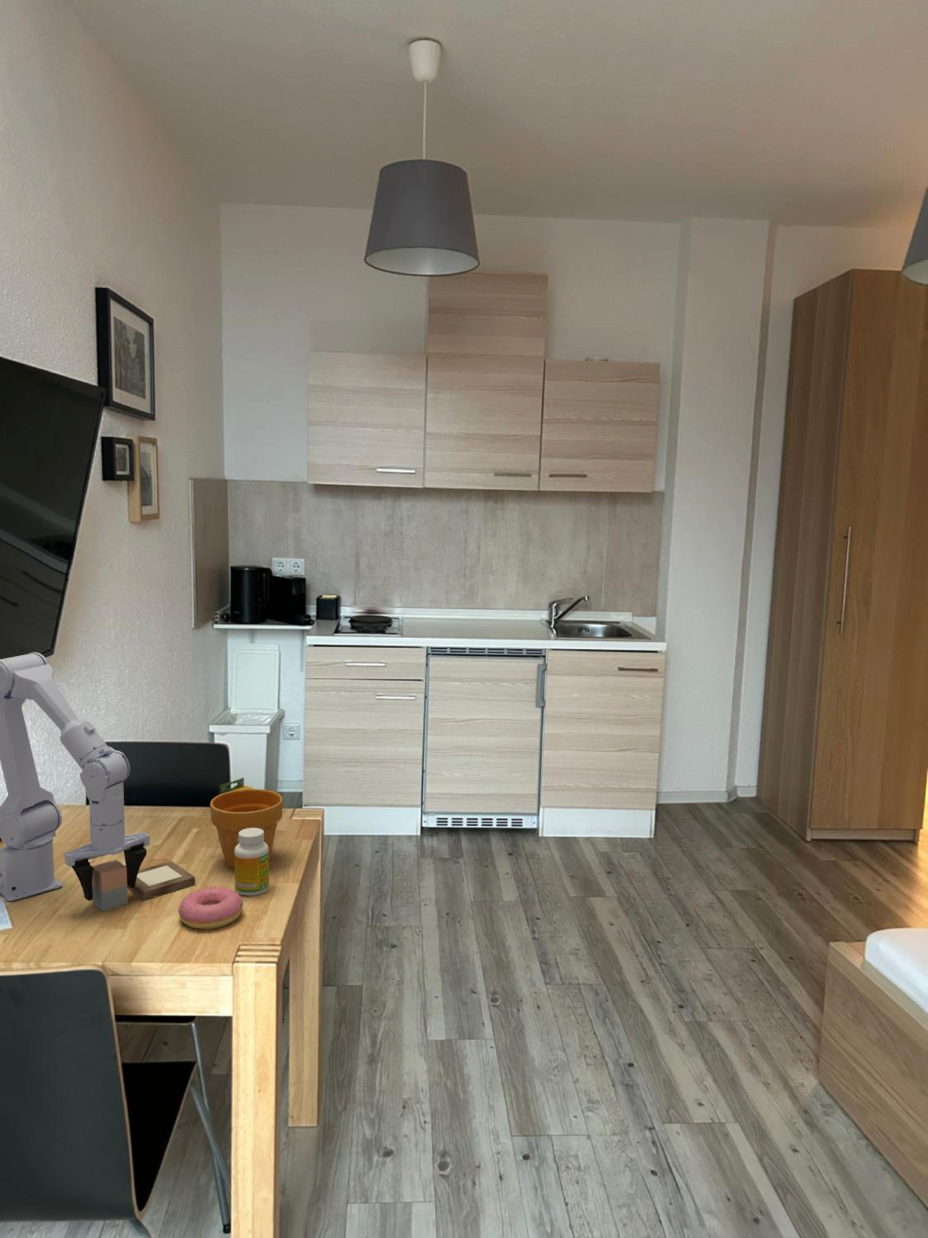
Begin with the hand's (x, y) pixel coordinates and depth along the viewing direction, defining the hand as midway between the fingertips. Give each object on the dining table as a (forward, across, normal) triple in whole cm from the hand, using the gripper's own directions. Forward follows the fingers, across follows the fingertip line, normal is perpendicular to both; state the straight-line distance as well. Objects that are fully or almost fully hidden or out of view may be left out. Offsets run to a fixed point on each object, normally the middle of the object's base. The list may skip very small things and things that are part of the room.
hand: (110, 892), depth 156 cm
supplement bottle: (+2, +22, -12) cm, 25 cm away
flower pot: (+2, +28, 0) cm, 28 cm away
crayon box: (+2, +34, +15) cm, 37 cm away
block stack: (+2, 0, 0) cm, 2 cm away
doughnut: (+2, +11, -17) cm, 20 cm away
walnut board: (+2, +10, +2) cm, 10 cm away
